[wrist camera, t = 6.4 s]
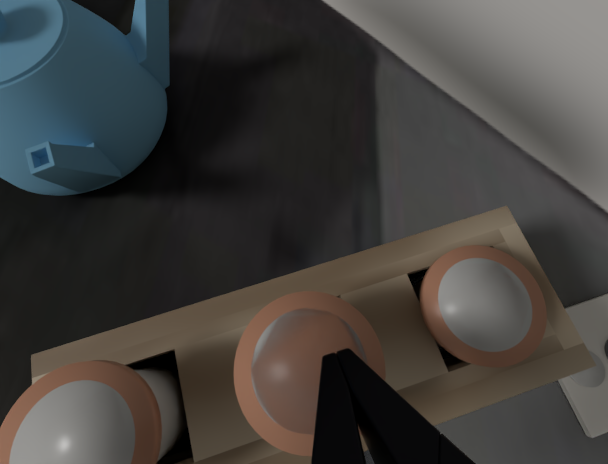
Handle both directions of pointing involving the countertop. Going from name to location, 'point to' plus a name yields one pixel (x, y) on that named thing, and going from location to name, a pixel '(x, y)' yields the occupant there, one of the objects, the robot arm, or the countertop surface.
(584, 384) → the pattern card
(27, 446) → the button
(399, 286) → the button box
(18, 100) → the teapot
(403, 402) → the robot arm
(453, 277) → the button
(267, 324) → the middle button
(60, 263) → the countertop surface
